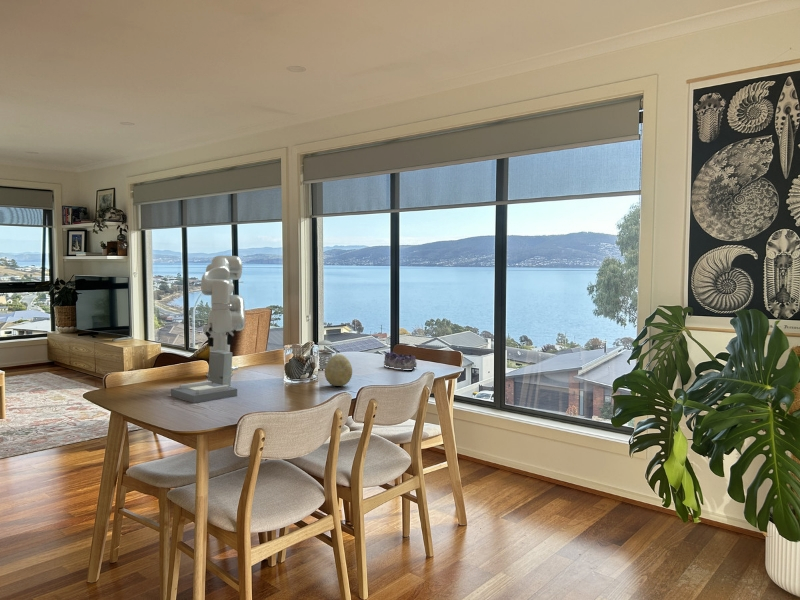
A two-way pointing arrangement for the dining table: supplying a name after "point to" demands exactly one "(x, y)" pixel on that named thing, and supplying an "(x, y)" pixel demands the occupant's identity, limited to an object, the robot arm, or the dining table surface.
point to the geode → (400, 361)
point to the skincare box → (220, 367)
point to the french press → (325, 352)
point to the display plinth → (203, 396)
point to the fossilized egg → (338, 370)
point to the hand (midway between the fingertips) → (220, 345)
